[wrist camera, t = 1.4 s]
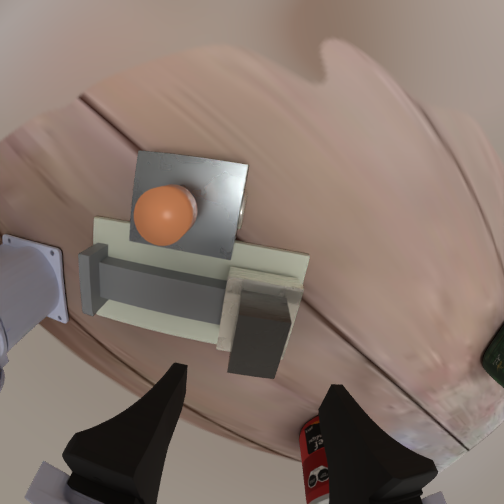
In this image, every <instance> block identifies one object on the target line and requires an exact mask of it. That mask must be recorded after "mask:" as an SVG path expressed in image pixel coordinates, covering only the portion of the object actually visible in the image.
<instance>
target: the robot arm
mask: <svg viewBox="0 0 504 504" xmlns="http://www.w3.org/2000/svg"><path fill="white" fill-rule="evenodd" d="M2 239H3V244H2V245H0V391H1V389H2V387H3V384H4V379H5V374H4V370H3V367H4V366H5V365H6V364H7V363H8V362H9V360H8V357H7V352H8V351H9V350H10V349H11V348H12V347H13V346H14V345H15V344H16V343H17V342H19V341H20V340H21V339H22V338H23V337H24V336H25V335H26V334H27V333H28V332H29V331H30V330H31V329H33V328H34V327H35V326H36V325H37V324H38V323H39V322H41V321H42V320H43V319H44V318H45V317H46V316H48V317H50V318H52V319H55V320H57V321H60V322H62V323H67V322H68V321H69V319H68V312H67V305H66V298H65V289H64V279H63V267H62V253H61V250H60V249H59V248H56V247H52V246H48V245H45V244H41V243H37V242H33V241H30V240H26V239H22V238H19V237H15V236H12V235H8V234H4V235H3V237H2ZM53 252H54V254H53ZM187 366H188V365H184V364H179V363H173V364H172V366H171V367H170V368H169V370H168V371H167V372H166V373H165V375H164V376H163V377H162V378H161V379H160V380H159V381H158V382H157V383H156V384H155V385H154V387H153V388H152V389H151V390H149V391H148V392H147V393H146V394H145V395H144V396H143V397H142V398H141V399H139V400H138V401H137V402H136V403H134V404H133V405H132V406H130V407H129V408H128V409H126V410H125V411H123V412H121V413H120V414H118V415H117V416H115V417H113V418H111V419H109V420H108V421H105V422H103V423H101V424H99V425H97V426H95V427H92V428H90V429H87V430H84V431H81V432H78V433H75V435H74V436H73V437H72V439H71V440H70V441H69V443H68V444H67V446H66V448H65V450H64V452H63V454H62V456H63V459H64V461H65V462H66V463H67V465H68V466H69V468H70V469H71V470H72V474H71V476H69V475H67V474H66V473H65V472H63V471H61V470H59V469H57V468H55V467H54V466H52V465H50V464H48V463H47V462H44V461H43V462H42V464H41V466H40V468H39V470H38V472H37V474H36V476H35V477H34V479H33V481H32V483H31V485H30V487H29V489H28V491H27V493H26V495H25V499H26V500H28V501H29V502H30V503H31V504H156V502H157V497H158V491H159V486H160V481H161V476H162V471H163V466H164V462H165V458H166V453H167V450H168V446H169V443H170V440H171V438H172V435H173V432H174V429H175V427H176V424H177V421H178V419H179V416H180V413H181V410H182V406H183V402H184V398H185V394H186V380H187ZM318 410H319V424H320V430H321V435H322V440H323V444H324V449H325V453H326V458H327V464H328V476H329V504H446V501H445V499H444V496H443V494H442V492H441V491H440V492H437V493H435V494H432V495H430V496H427V497H425V498H423V499H421V497H420V495H422V494H423V492H422V488H423V487H424V486H426V485H427V484H428V483H429V482H431V481H432V480H433V479H434V478H435V477H436V476H437V474H438V471H437V468H436V466H435V464H434V462H433V460H431V459H429V458H426V457H424V456H422V455H419V454H417V453H415V452H413V451H412V450H410V449H408V448H406V447H405V446H403V445H402V444H400V443H399V442H397V441H396V440H394V439H393V438H392V437H390V436H389V435H388V434H387V433H386V432H384V431H383V430H382V429H381V428H380V427H379V426H378V425H377V424H376V423H375V422H374V421H373V420H372V419H371V418H370V417H369V416H368V415H367V414H366V413H365V412H364V410H363V409H362V408H361V407H360V406H359V405H358V403H357V402H356V401H355V400H354V398H353V397H352V396H351V395H350V394H349V392H348V391H347V390H346V389H345V387H344V386H343V385H336V384H331V386H330V388H329V390H328V392H327V394H326V396H325V398H324V400H323V402H322V404H321V406H320V408H319V409H318Z"/></svg>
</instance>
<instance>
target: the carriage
mask: <svg viewBox="0 0 504 504" xmlns="http://www.w3.org/2000/svg"><path fill="white" fill-rule="evenodd" d="M303 291H304V288H303V285H302V284H300V281H299V278H293V277H288V276H282V275H276V274H271V273H265V272H259V271H254V270H248V269H243V268H237V267H232V266H231V267H230V271H229V274H228V279H227V285H226V291H225V297H224V303H223V310H222V316H221V322H220V328H219V335H218V341H217V348H216V349H217V350H223V351H229V352H230V356H229V363H228V371H227V372H228V373H234V374H241V375H247V376H254V377H262V378H270V379H274V378H275V375H276V372H277V369H278V366H279V362H280V359H283V357H284V353H285V350H286V347H287V344H288V341H289V338H290V335H291V331H292V328H293V325H294V322H295V318H296V315H297V312H298V308H299V305H300V301H301V298H302V294H303Z"/></svg>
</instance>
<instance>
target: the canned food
mask: <svg viewBox="0 0 504 504" xmlns="http://www.w3.org/2000/svg"><path fill="white" fill-rule="evenodd" d="M299 442H300V450H301V458H302V466H303V476H304V485H305V494H306V501H307V504H329V476H328V464H327V458H326V453H325V449H324V444H323V440H322V435H321V430H320V424H319V416H317V417H315V418H313V419H312V420H310V421H309V422H308V423H307V424H305V426H304V427H303V428H302V430H301V433H300V438H299Z"/></svg>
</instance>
